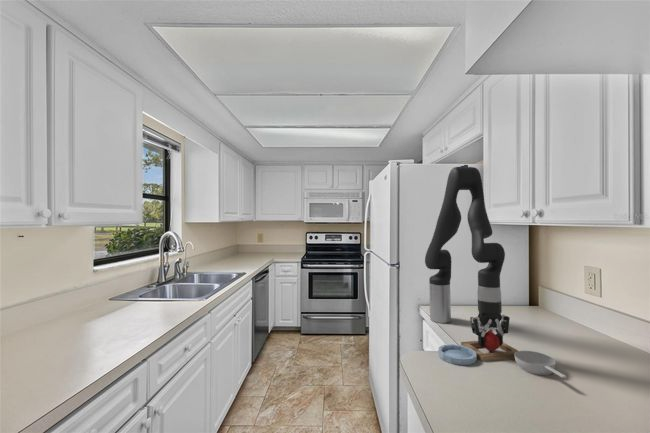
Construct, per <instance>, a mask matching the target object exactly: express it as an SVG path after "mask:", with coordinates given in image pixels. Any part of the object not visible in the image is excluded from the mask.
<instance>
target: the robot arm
mask: <svg viewBox="0 0 650 433" xmlns="http://www.w3.org/2000/svg"><path fill="white" fill-rule="evenodd" d="M447 176H448V177H447V181H446V187H445V192H444V197H443V202H442V204H441V209H440V211H439V214H438V216H437V217H438V218H437V221H436V225H435V229H434V232H433V234H432V238H431V241H430V243H429V245H428V248H427V250H426V253H425V258H424V264H425V267H426V268H427V269H429V270H438V272H437V273H435V274H434V275H431V276H430V277H429V279H428V280H429V282H428V283H429V319H430V321H432V322H433V323H439V324H447V323H450V322H452V309H451V308H452V306H451V279H452V255H451V253H450V251H449V250H448V249H442V248H443V247H444V246H445V245H446V244H447V243H448V242H449V241H450V240H451V239H452V238H453V237H454V236H455V235H456V234H457V233H458V231H459V227H460V225H461V222H462V213H461V211H460V209H459V206H458V203H457V199H458V194H459V192H460V191H469V192H470V195H471V202H470V206H469V208H468V211H467V223H468V227H469V230H470V233H471V255H472V257H473V260H475V261H476V262H477V263H479V264H480V263H481V264H487V263H488V264H487V266H486V267H485V268H481V269H479V270H478V271H477V310H478V315H477V316H475V317H473V316H470V320H469V321H470V325H471V332H472V333H473V334H475V336H477V341H478V344H479V345H480V346H481V347H480V348H485V337H484V335H485V333H486V332H488V331H489V329H491V328H493V329H494V331H495V335H497V337H498V338H499V341H500V346H502V344H503V342H504V337H503V336H504V335H505V334H508V333H509V327H510V316H507V315H505V314H502V311H503V310H502V309H503V307H502V306H503V305H502V290H501V272H502V270H503V266H504V262H505V259H506V258H505V257H506V252H505V248H504V247H503V245H502V244H500V243H498V242H485V241H484V239H487V238H490V237H491V236H492V235H493V229H492V226H491V222H490V220H489V216H488V213H487V209H486V203H485V195H484V194H485V193H484V188H483V180H482V174H481V172H480V171H479V169H478V168H477V167H473V166H455V167H452V169H451V170H450V172H449V174H448V175H447Z"/></svg>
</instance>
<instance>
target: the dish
mask: <svg viewBox="0 0 650 433" xmlns="http://www.w3.org/2000/svg"><path fill="white" fill-rule="evenodd" d="M438 357H439V358H440V359H441V360H442V361H444V362H445V363H448V364H451V365H458V366H471V365H473V364H475V363H476V362H477V359H478V358H477V355H476V352H475V351H474V350H472V349H471V348H468V347H465V346H462V345H461V344H453V343H451V344H443V345H440V346H439V347H438Z"/></svg>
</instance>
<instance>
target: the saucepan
mask: <svg viewBox="0 0 650 433" xmlns="http://www.w3.org/2000/svg"><path fill="white" fill-rule="evenodd" d="M514 355H515V362H516V364H517V366H518V367H519V368H520V369H521V370H522V371H525V372H526V373H530V374H533V375H538V376H548V375H551V374H555V375H557V376H559V377H560V378H561V379H567V378H568V377H567V375H565V374H563V373H561V372H559V371H558V370H556V369H555V368H556V360H555V359H554V358H553V357H551V356H549V355H547V354H544V353H541V352H538V351H531V350H518V352H515V354H514Z"/></svg>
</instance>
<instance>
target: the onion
mask: <svg viewBox="0 0 650 433" xmlns="http://www.w3.org/2000/svg"><path fill="white" fill-rule="evenodd" d="M484 337H485V347H484V349H486V350H487V351H488V352H489V353H494V351H496V350H498V349H500V348H499V346H500V341H499V338H498V337H497V335H496V333H494V332H493V329H488V330H487V331H486V333H485V335H484Z"/></svg>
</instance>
